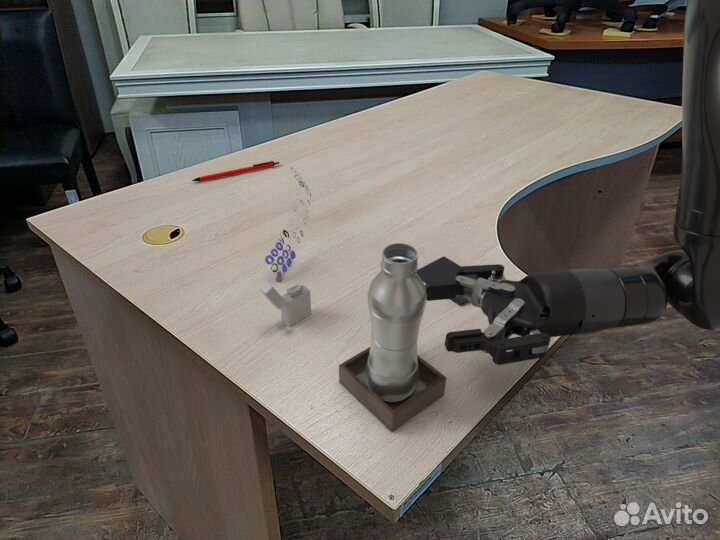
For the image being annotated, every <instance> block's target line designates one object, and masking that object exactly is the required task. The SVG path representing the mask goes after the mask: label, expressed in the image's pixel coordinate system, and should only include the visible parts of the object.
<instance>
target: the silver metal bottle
mask: <svg viewBox="0 0 720 540" xmlns="http://www.w3.org/2000/svg"><path fill="white" fill-rule="evenodd" d="M418 258H419V253H418V250H417V249H416V248H415V247H414V246H413V245H411V244H408V243H404V242H394V243H391V244H388V245H386V246H385V247H384V248H383V249H382V252H381V261H380V271H379V273H377V274H376V275H375V277H374V278H373V279H372V281H371V282H370V284H369V287H368V289H367V305H368V312H369V318H370V331H371V332H370V333H371V334H370V335H371V340H370V346H369V347H370V353H369V357H368V360H367V364H366V369H365V370H364V377H365V382H366V386H367V387H368V388H369V389H371V390H372V391H373V392H374V393H375V394H376V395H377V396H378V397H379V398H380V399H381V400H383V401H384V402H385V403H386V402H387V403H397V402H401V401H404V400H405V399H407V398H409V397H410V396H412V395H413V393H414V392H415V391H416V387H417V385H418V382H419V380H420V379H419V367H418V360H417V355H418V340H419V334H420V327H421V323H422V320H423V317H424V314H425V310H426V307H427V302H428V301H427V292H426V288H425V285H426V284H425V282H424V281H422V280H421V279H420V277H419V276H418V275H417V273H416V272H417V270H418V269H419V263H418Z"/></svg>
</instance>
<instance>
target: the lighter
mask: <svg viewBox="0 0 720 540" xmlns="http://www.w3.org/2000/svg"><path fill="white" fill-rule="evenodd" d="M258 290H259V291H260V292H261V293H262V294H263V295H264V297H265V298H266V299H267V300H268V301H269V302H270V304H271V305H272V306H274V307H275V308H276V309H277V310H279V311H280V313H281V322H282V323H283V324H284V325H285V326H287V327H288V328H289V327H292V326H294V325H296V324H297V323H299V322H301V321H302V320H305V319H306V318H308V317H309V316H311V315H312V301H311V300H312V299H311V289H310V288H308V287H307V286H306V285H300V284H294V285H293V286H290V287H289V288H287V289H286V292H287V293H285V294H282V295H281V294H280V293H279V292H278V291H277V289H276V288H275V287H274V286H273V285H271V283H269V282H267V281H265V282H264V283H263V285H261V286H260V287H259V289H258Z"/></svg>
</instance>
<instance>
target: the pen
mask: <svg viewBox="0 0 720 540" xmlns="http://www.w3.org/2000/svg"><path fill="white" fill-rule="evenodd" d="M279 164H280V161H277V162H275V161H273V160H270V161H266V162H261V163H256V164H252V165H251V166H246V167H242V168H237V169H231V170H226V171H221V172H217V173H212V174H207V175H201V176H198V177H196V178H194V179H192V180H191V182H203V181H208V180H215V179H219V178H223V177H227V176H232V175H237V174H242V173H243V174H244V173H247V172H251V171H257V170H262V169H266V168H272V167H275V166H276V165H279Z"/></svg>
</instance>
